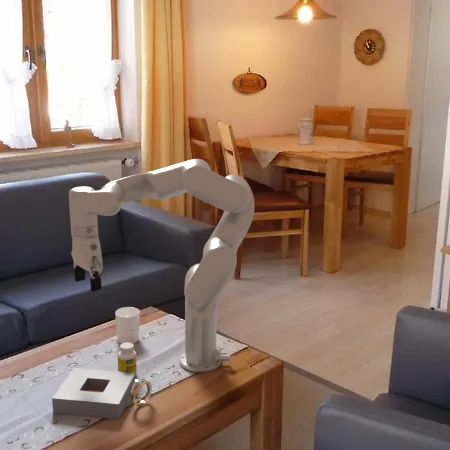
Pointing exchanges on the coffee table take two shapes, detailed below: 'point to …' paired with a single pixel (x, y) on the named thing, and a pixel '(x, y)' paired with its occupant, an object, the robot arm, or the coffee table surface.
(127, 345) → the supplement bottle
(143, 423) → the coffee table surface
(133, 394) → the ring
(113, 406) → the socket block
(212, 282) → the robot arm
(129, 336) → the white cup
